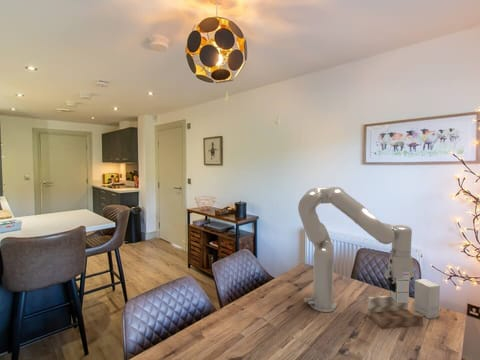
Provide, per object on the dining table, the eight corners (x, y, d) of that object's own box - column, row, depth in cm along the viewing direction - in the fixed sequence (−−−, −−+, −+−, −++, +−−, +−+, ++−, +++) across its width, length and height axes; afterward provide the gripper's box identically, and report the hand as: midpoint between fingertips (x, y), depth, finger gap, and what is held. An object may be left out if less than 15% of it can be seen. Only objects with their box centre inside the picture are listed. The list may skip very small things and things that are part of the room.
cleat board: (382, 328, 116) (383, 309, 116) (367, 314, 127) (368, 296, 126) (422, 325, 119) (424, 306, 118) (405, 311, 129) (406, 294, 129)
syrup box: (409, 303, 120) (410, 272, 119) (395, 302, 120) (397, 272, 119) (401, 296, 125) (403, 267, 124) (389, 296, 125) (390, 266, 124)
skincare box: (439, 317, 125) (441, 285, 124) (427, 319, 123) (429, 287, 122) (423, 307, 133) (425, 277, 132) (412, 309, 132) (414, 279, 130)
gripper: (389, 256, 116) (387, 295, 117) (424, 254, 118) (422, 293, 120) (378, 250, 123) (376, 287, 125) (411, 249, 126) (409, 285, 127)
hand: (399, 289), depth 122 cm, fingers closed on syrup box, 6 cm apart
